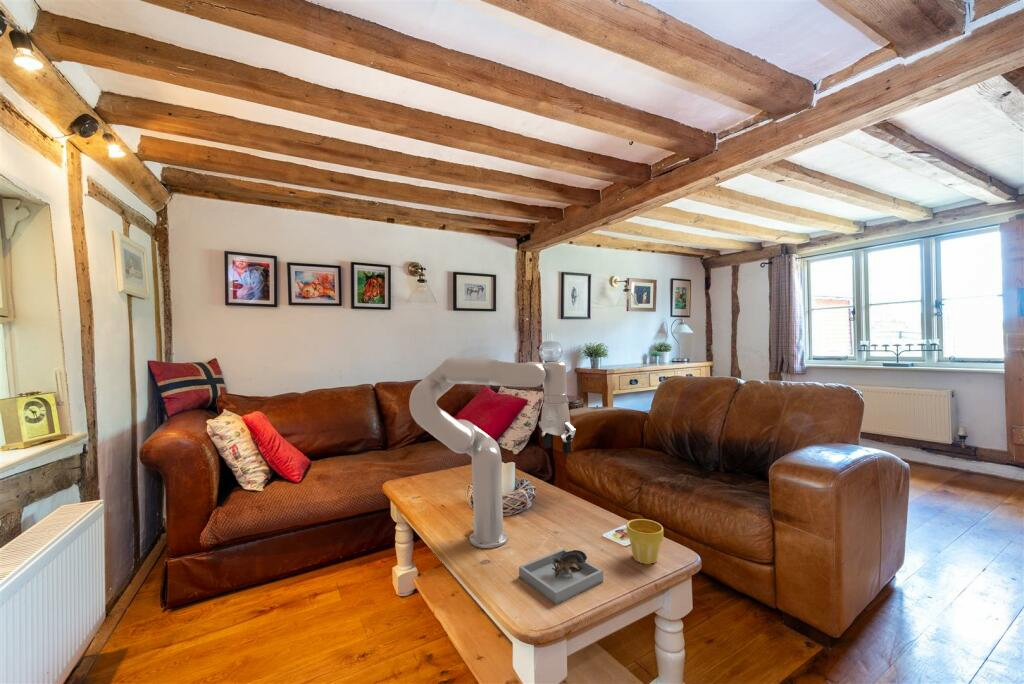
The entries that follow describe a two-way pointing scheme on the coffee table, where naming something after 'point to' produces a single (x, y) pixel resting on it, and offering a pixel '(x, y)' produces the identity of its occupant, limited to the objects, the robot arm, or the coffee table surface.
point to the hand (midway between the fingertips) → (556, 450)
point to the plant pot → (645, 539)
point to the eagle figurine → (568, 561)
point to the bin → (559, 578)
